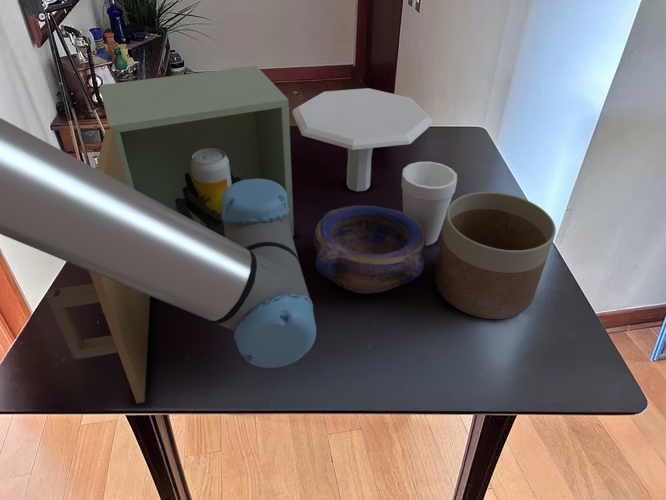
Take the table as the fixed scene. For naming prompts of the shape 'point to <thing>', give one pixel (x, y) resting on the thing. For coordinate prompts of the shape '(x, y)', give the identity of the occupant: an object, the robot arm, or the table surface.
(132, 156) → the cupboard
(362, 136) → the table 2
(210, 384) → the table surface
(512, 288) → the planter
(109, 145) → the cupboard door
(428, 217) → the foam cup
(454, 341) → the table surface
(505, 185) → the table surface
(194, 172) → the beer can
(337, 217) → the bowl
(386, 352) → the table surface
